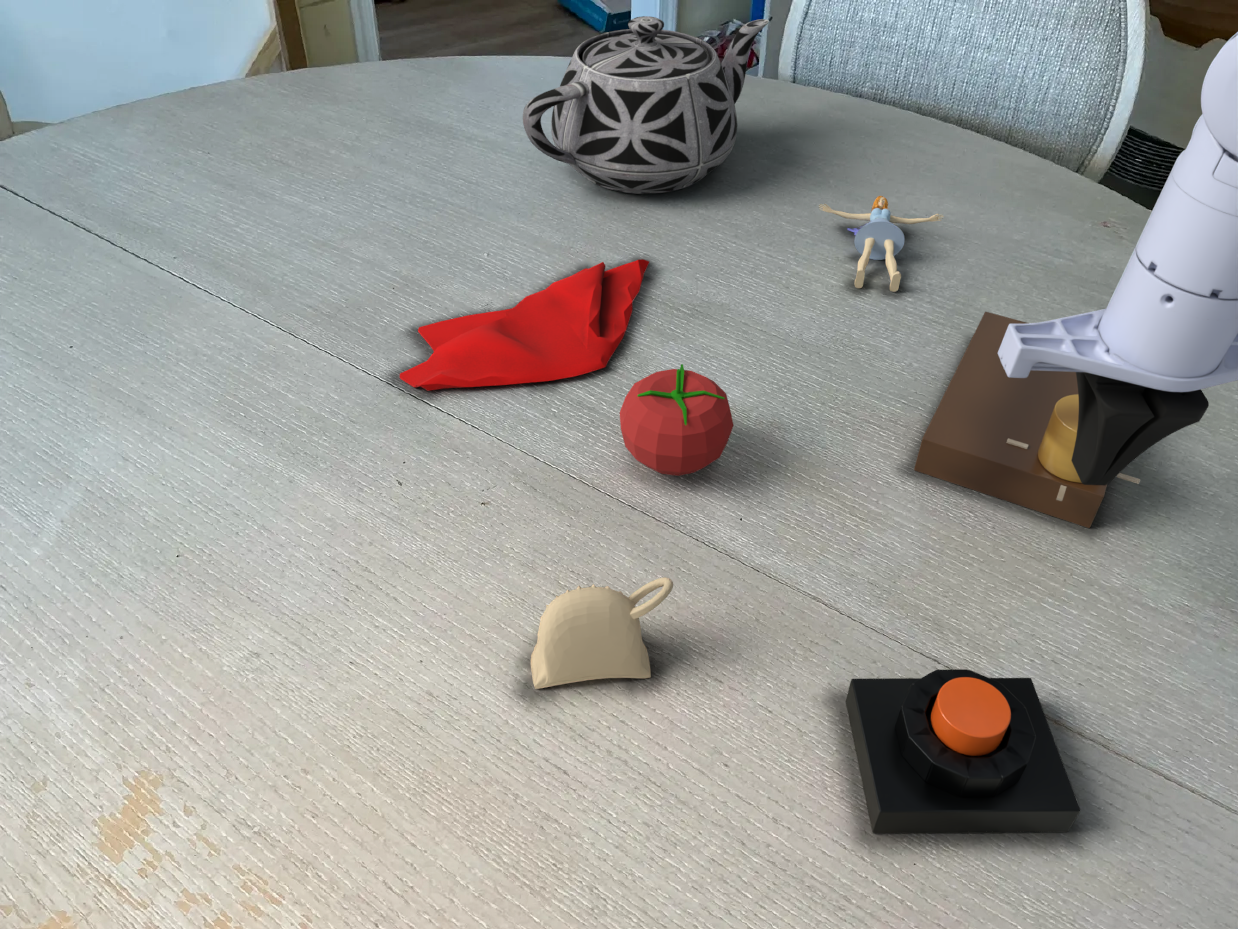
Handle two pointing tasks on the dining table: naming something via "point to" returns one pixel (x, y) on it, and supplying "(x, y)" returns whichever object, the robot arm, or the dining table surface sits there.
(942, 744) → the button box
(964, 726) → the button
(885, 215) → the fairy figurine
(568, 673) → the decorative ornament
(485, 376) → the cloth
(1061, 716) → the dining table surface
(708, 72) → the teapot
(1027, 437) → the knob panel
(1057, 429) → the knob
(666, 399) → the tomato
